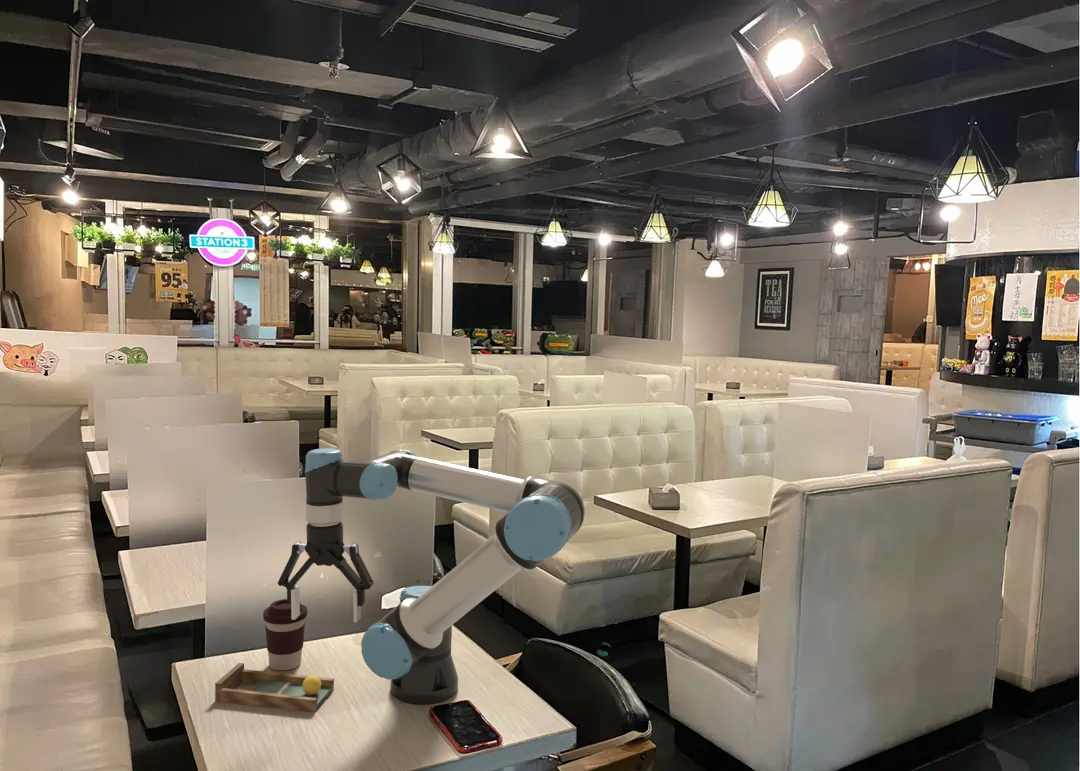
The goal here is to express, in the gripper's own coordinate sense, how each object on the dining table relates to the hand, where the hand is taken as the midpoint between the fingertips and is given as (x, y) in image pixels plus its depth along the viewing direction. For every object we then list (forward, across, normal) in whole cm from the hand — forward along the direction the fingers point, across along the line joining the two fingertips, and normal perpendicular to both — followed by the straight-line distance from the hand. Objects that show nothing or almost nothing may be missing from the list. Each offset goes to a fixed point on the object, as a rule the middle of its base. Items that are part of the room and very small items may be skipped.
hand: (326, 618), depth 169 cm
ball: (+15, +4, -1) cm, 16 cm away
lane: (+18, +12, -1) cm, 22 cm away
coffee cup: (+18, +16, -16) cm, 29 cm away
